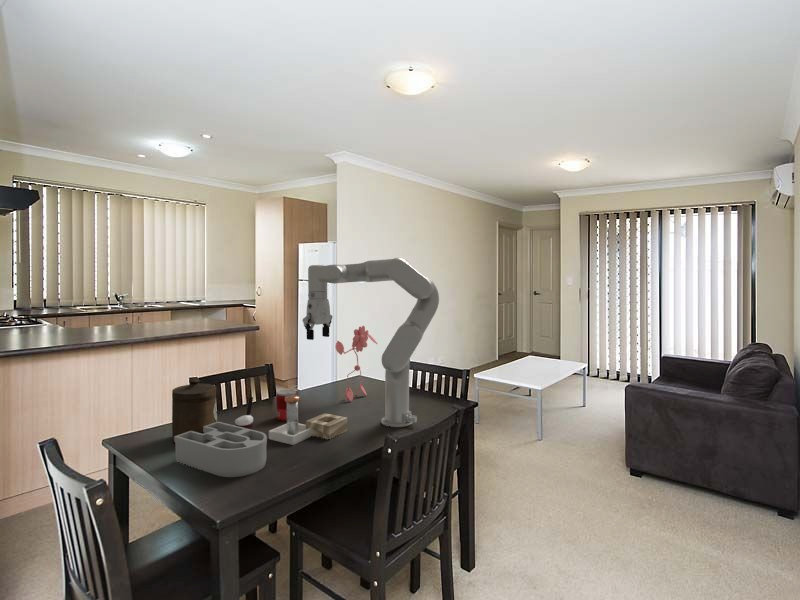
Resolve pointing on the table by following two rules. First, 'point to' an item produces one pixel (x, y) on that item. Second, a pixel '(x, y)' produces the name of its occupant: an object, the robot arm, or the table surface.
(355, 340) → the pink stick figure
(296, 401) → the steel pin
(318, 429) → the socket block
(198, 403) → the wooden container
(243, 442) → the grey compartment organizer
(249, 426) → the white oval with stem
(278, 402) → the canned food
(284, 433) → the tray
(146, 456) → the table surface
